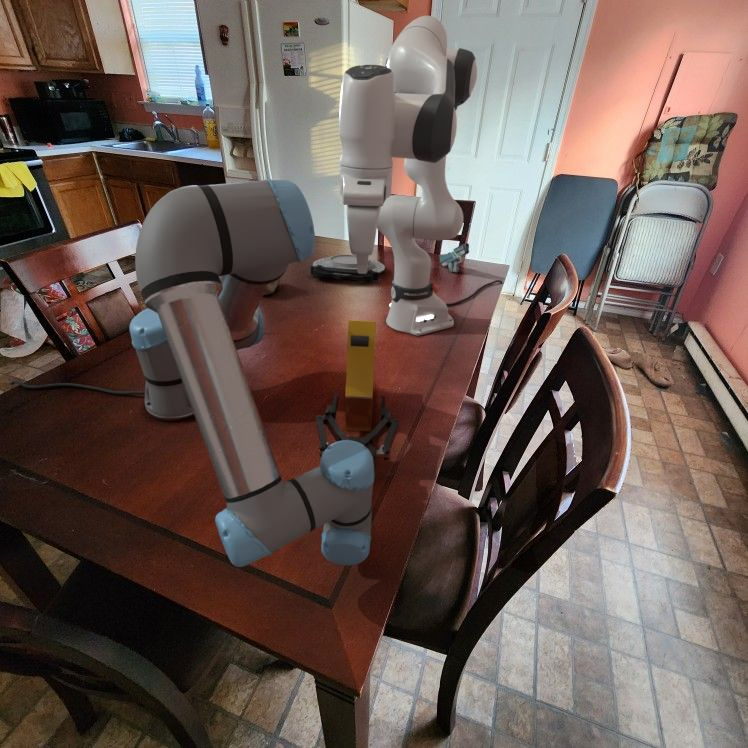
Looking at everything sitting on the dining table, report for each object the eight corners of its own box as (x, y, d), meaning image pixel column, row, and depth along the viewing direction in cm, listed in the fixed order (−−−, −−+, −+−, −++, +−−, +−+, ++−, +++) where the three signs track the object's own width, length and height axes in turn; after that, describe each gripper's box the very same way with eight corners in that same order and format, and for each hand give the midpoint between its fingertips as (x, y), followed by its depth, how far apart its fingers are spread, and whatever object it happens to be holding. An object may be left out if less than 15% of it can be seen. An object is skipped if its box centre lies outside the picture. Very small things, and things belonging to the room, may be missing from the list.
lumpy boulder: (291, 289, 158) (274, 291, 144) (265, 297, 161) (246, 299, 146) (282, 260, 156) (264, 259, 141) (256, 268, 159) (236, 268, 144)
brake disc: (371, 289, 156) (371, 277, 153) (298, 278, 162) (298, 266, 160) (392, 263, 182) (392, 252, 179) (328, 254, 188) (328, 243, 185)
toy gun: (467, 266, 164) (462, 241, 163) (442, 277, 182) (438, 255, 181) (474, 265, 165) (470, 240, 164) (449, 276, 183) (445, 254, 182)
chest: (350, 390, 105) (351, 359, 100) (373, 391, 105) (374, 360, 100) (345, 430, 93) (345, 397, 87) (370, 431, 93) (372, 399, 87)
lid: (348, 320, 85) (345, 321, 76) (376, 321, 85) (375, 323, 76) (345, 395, 88) (342, 405, 79) (372, 396, 88) (371, 406, 79)
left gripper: (291, 487, 76) (310, 409, 95) (412, 493, 76) (408, 414, 95) (288, 458, 72) (308, 383, 90) (416, 465, 72) (411, 388, 90)
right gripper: (351, 172, 78) (351, 245, 86) (341, 195, 62) (342, 283, 70) (385, 174, 78) (381, 246, 86) (383, 197, 62) (379, 284, 70)
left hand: (359, 399), depth 92 cm, fingers open, 10 cm apart
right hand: (363, 263), depth 78 cm, fingers open, 8 cm apart
